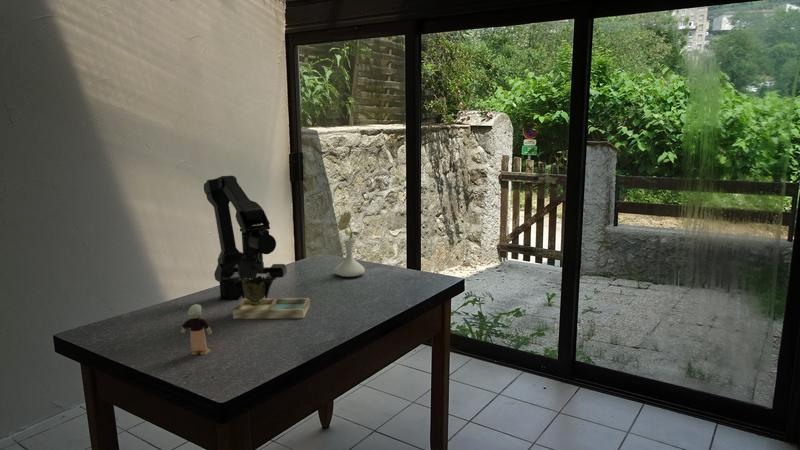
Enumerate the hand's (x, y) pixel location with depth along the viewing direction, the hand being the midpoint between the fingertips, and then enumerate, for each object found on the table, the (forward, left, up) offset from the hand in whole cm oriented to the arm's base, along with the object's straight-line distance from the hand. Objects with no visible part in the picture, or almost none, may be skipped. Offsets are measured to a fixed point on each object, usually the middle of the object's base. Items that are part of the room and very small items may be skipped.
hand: (255, 298), depth 171 cm
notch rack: (+5, 0, -5) cm, 7 cm away
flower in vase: (+25, +40, -5) cm, 47 cm away
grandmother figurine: (-7, -30, -5) cm, 31 cm away
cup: (0, 0, -2) cm, 2 cm away
